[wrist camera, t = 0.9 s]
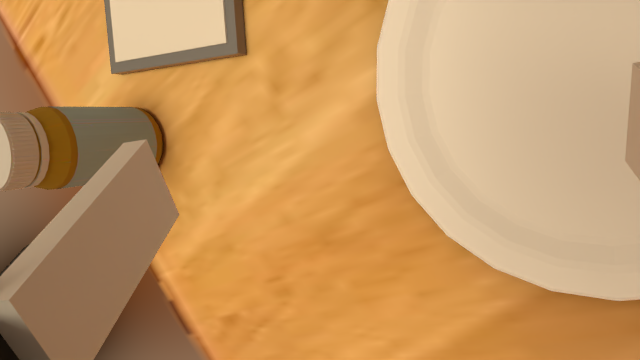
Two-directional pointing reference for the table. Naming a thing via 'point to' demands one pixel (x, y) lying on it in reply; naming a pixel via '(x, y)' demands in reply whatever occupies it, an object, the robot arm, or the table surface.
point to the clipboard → (172, 32)
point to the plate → (520, 133)
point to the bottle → (68, 143)
